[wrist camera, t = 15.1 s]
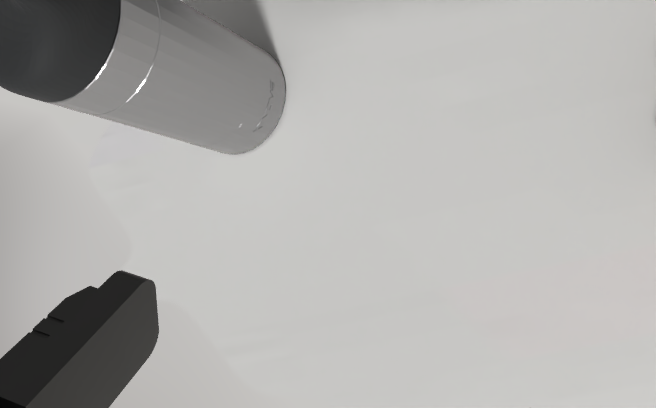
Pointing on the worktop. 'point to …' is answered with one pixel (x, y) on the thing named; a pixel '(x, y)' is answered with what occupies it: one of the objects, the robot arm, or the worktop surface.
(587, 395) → the worktop surface
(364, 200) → the worktop surface
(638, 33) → the worktop surface
